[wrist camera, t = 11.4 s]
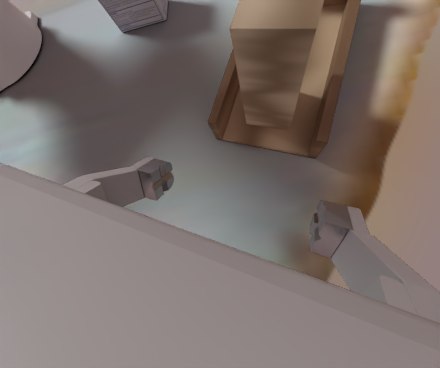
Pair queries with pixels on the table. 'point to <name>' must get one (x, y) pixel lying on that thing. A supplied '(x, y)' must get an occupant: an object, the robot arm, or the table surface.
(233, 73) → the wooden drawer with handle
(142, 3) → the medicine box
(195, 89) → the table surface
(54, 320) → the robot arm
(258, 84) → the tan wooden block
